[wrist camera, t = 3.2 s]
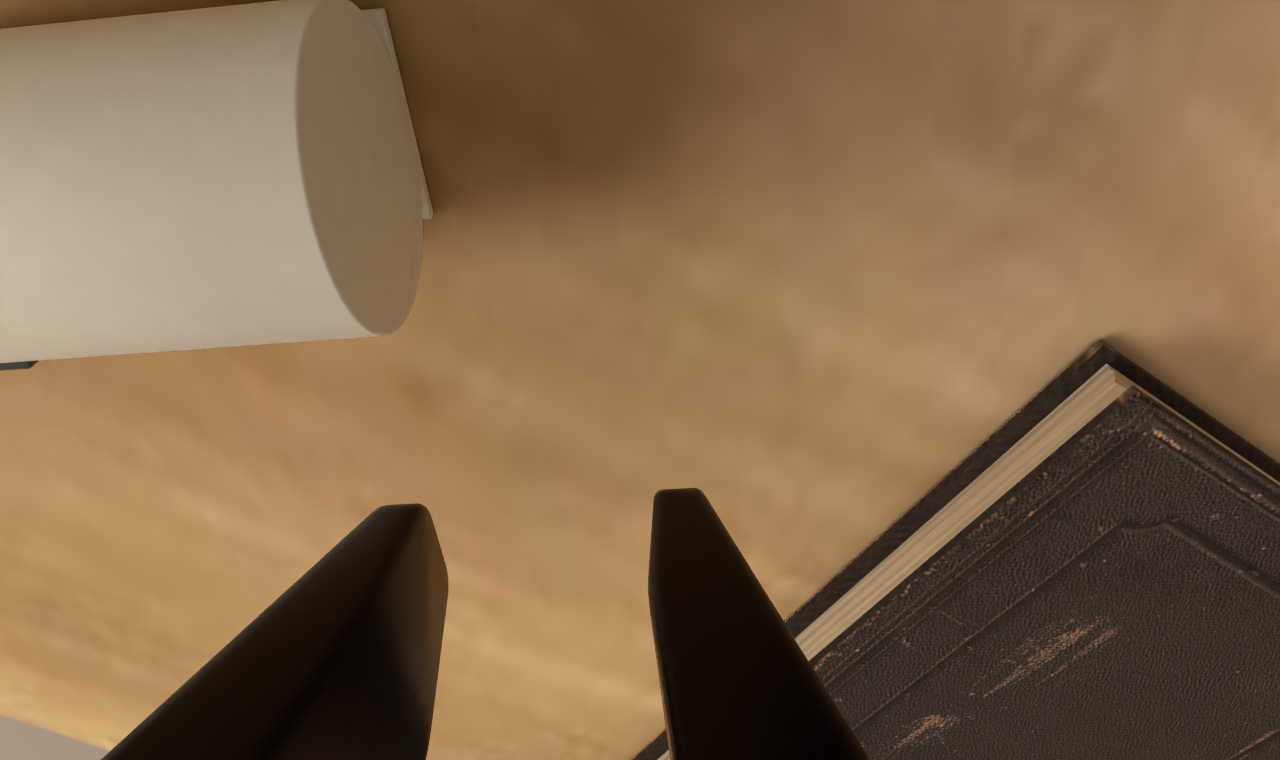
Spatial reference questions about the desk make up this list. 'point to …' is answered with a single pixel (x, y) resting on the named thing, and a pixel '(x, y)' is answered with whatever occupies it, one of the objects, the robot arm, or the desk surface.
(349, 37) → the cylinder
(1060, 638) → the hardcover book
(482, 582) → the desk surface
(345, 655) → the robot arm
